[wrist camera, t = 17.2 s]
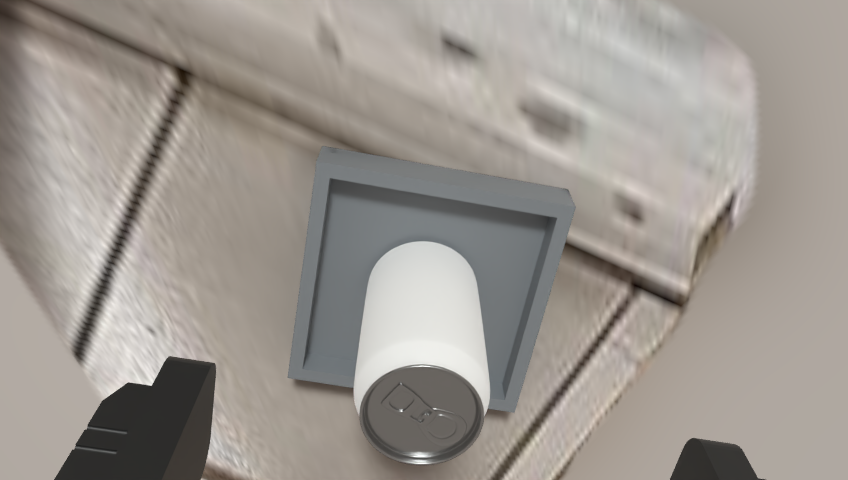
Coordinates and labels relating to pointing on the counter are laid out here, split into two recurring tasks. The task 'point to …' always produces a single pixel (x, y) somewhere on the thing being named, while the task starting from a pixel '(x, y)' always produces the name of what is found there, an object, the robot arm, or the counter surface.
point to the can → (422, 356)
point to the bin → (434, 222)
